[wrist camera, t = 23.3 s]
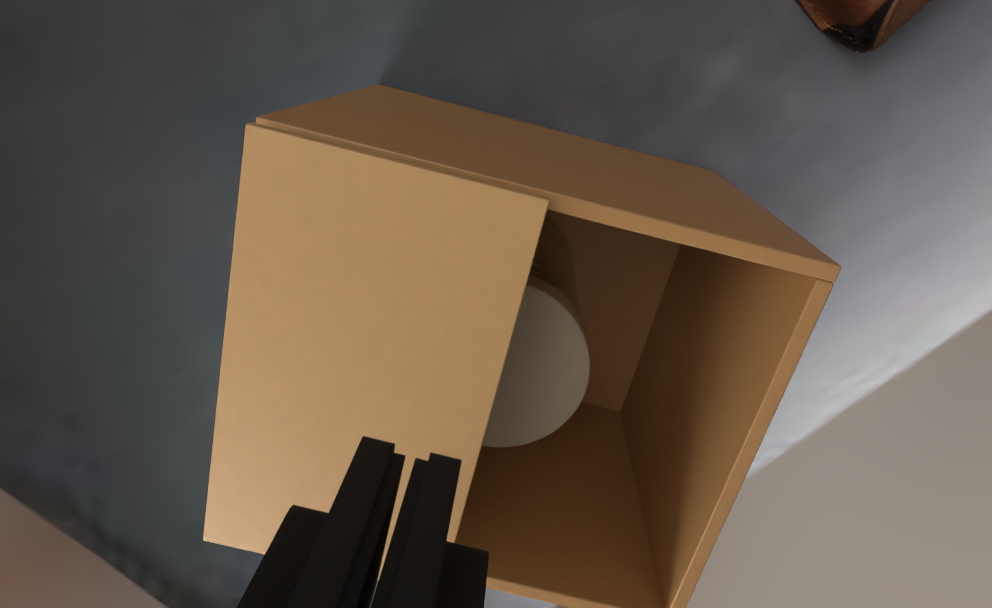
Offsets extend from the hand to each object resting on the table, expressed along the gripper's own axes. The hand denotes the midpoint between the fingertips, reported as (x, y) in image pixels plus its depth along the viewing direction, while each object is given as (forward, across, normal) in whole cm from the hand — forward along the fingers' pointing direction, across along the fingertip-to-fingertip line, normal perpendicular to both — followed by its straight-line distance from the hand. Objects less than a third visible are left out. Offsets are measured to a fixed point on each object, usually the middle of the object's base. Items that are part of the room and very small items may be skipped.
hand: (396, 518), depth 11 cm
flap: (+5, +2, +1) cm, 5 cm away
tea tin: (+16, -1, +1) cm, 16 cm away
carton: (+17, -1, +1) cm, 17 cm away
